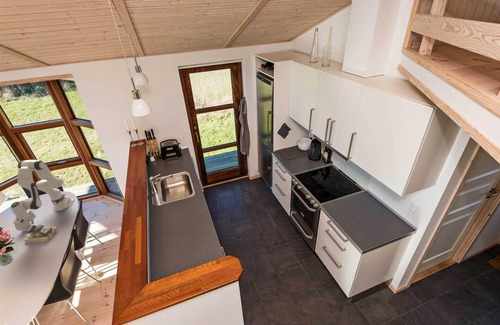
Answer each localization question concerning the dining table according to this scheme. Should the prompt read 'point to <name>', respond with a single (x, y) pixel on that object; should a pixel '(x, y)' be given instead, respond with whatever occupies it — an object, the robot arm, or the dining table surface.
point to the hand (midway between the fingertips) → (29, 227)
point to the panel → (39, 237)
